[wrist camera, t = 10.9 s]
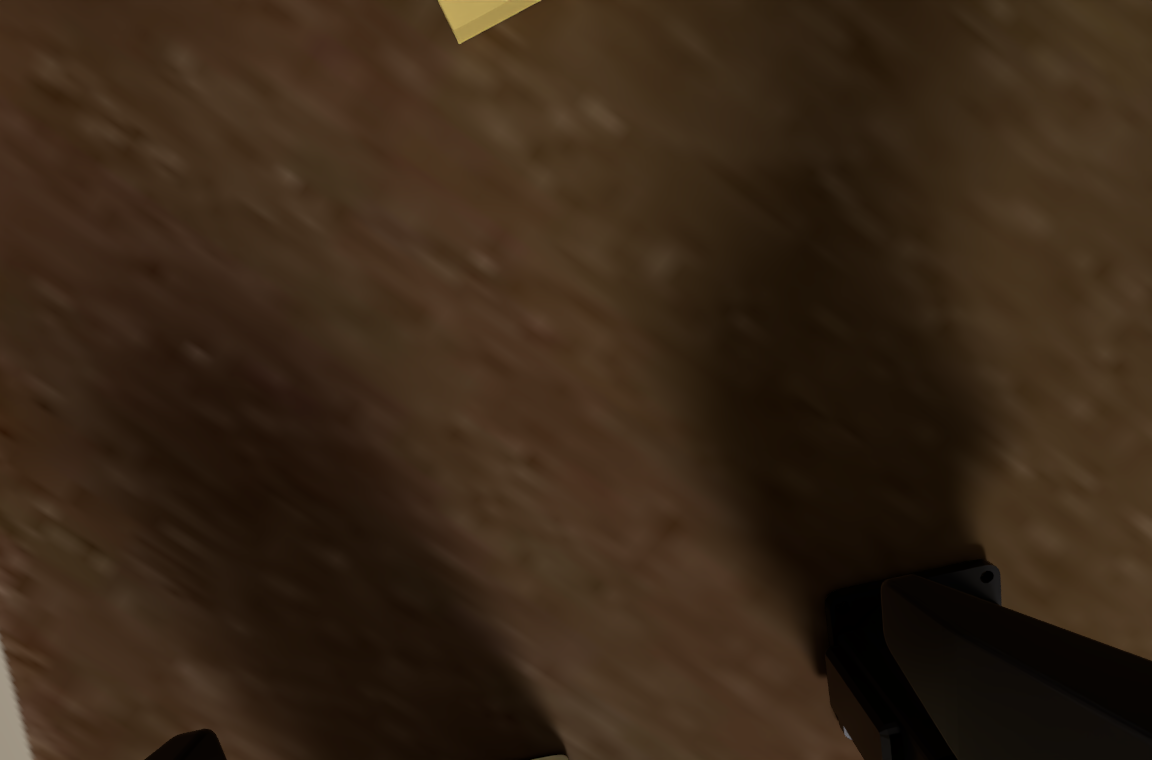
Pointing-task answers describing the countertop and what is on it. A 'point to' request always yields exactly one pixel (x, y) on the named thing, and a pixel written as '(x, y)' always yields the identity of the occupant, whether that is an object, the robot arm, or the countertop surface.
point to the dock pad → (479, 14)
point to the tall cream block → (553, 757)
